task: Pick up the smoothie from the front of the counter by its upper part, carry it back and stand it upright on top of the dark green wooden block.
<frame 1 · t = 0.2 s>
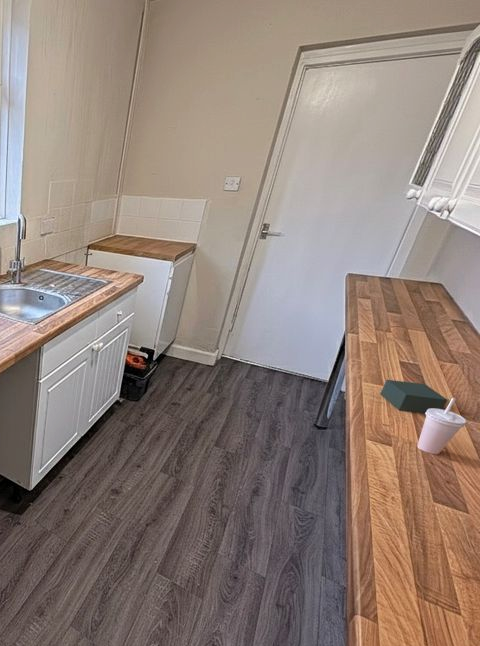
block: (408, 404, 118), on the worktop
smoothie: (427, 449, 99), on the worktop
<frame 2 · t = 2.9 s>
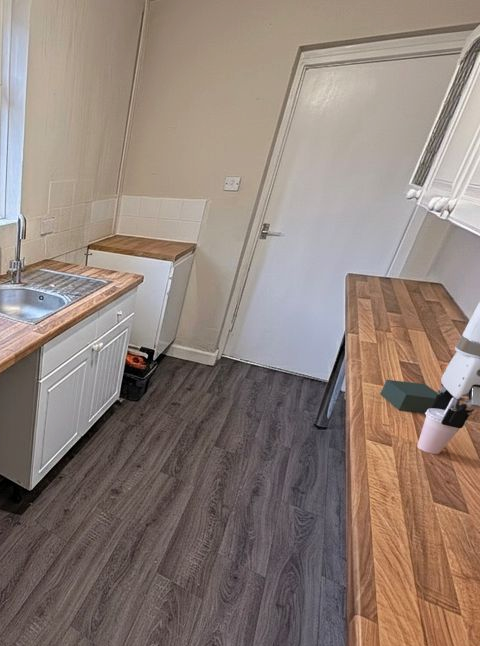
hand: (445, 417, 96), 9 cm above the worktop, tool pointing down, fingers closed on smoothie, 6 cm apart
smoothie: (427, 449, 99), on the worktop, touching gripper
everything else where it was.
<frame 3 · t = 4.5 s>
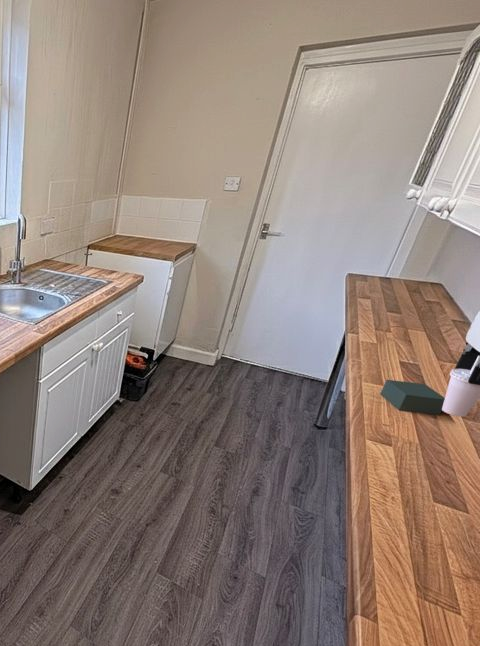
hand: (471, 377, 91), 20 cm above the worktop, tool pointing down, fingers closed on smoothie, 6 cm apart
smoothie: (453, 413, 94), point 11 cm above the worktop, touching gripper
everything else where it was.
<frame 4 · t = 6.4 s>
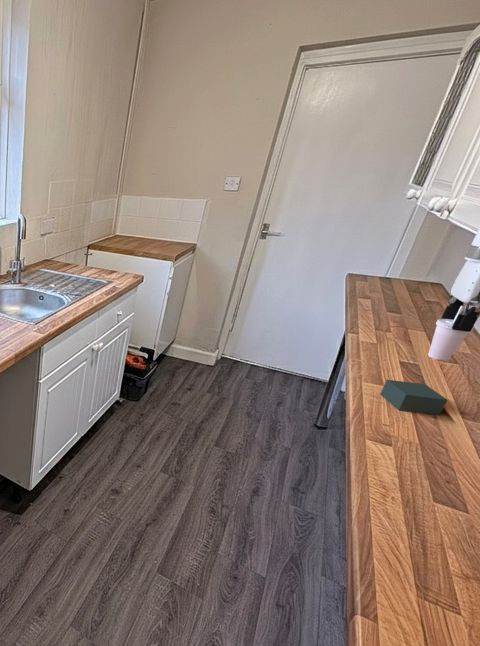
hand: (454, 325, 104), 26 cm above the worktop, tool pointing down, fingers closed on smoothie, 6 cm apart
smoothie: (437, 358, 108), point 17 cm above the worktop, touching gripper
everything else where it was.
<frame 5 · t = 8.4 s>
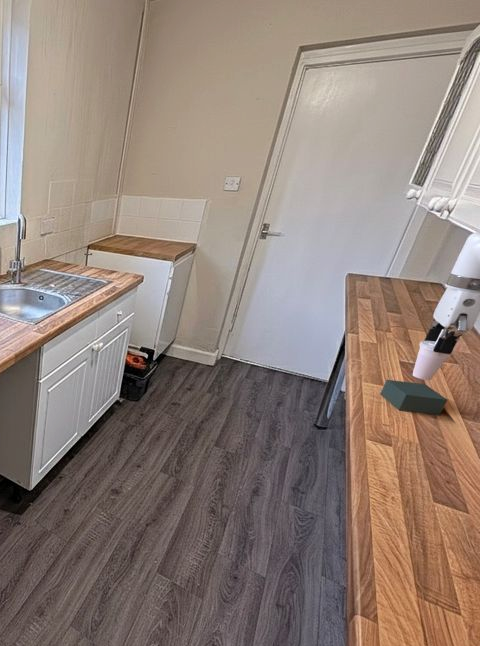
hand: (436, 347, 110), 18 cm above the worktop, tool pointing down, fingers closed on smoothie, 6 cm apart
smoothie: (421, 377, 114), point 9 cm above the worktop, touching gripper
everything else where it was.
when the fingers open (14 cm above the worktop, at t = 10.0 s): smoothie stays where it is, point 5 cm above the worktop.
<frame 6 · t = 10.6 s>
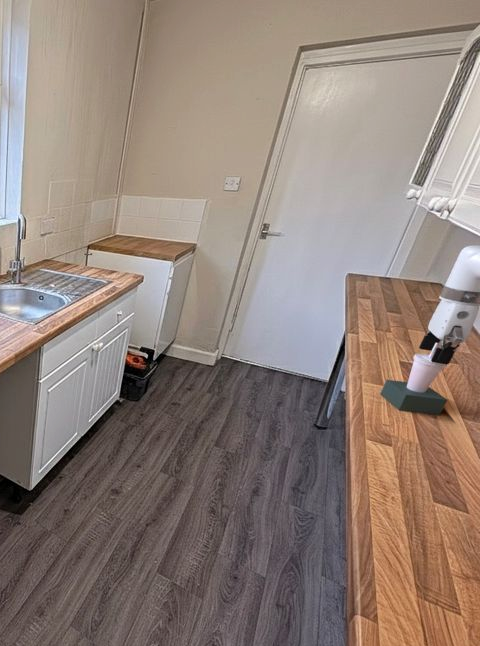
hand: (432, 356, 111), 15 cm above the worktop, tool pointing down, fingers open, 9 cm apart
smoothie: (415, 389, 116), point 5 cm above the worktop
everything else where it was.
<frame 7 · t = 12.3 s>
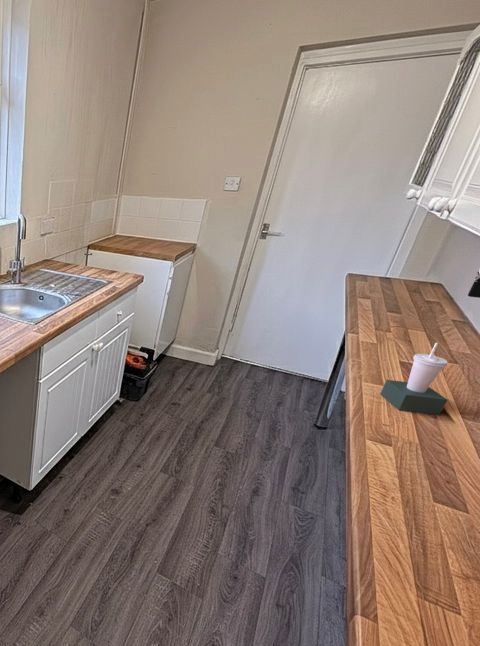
block: (408, 404, 118), on the worktop, touching smoothie
smoothie: (415, 389, 116), point 5 cm above the worktop, touching block
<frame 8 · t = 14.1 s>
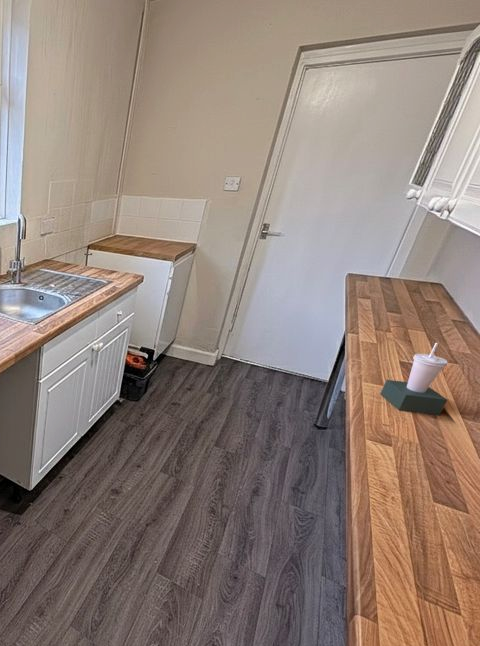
nothing on the worktop moved.
at the end: smoothie 0.1 cm off-centre on the block, point 4.8 cm above the block's base; smoothie tilted 0°; the gripper is holding nothing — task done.
